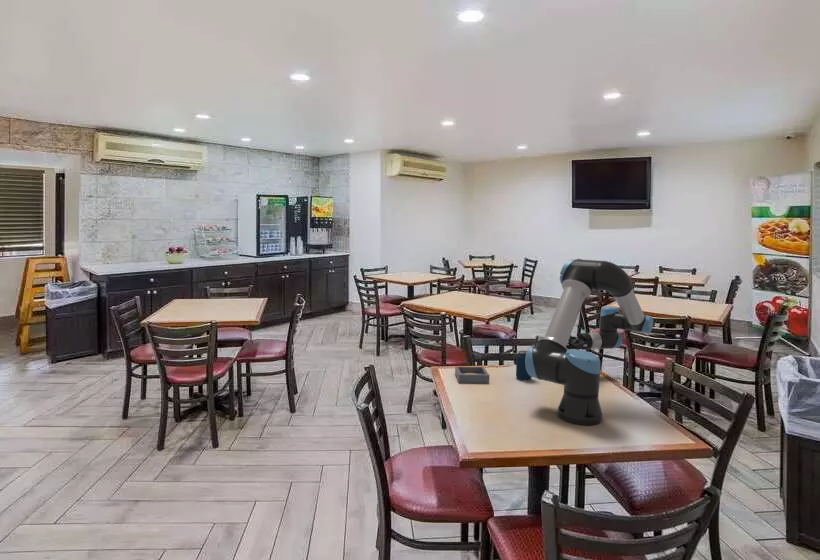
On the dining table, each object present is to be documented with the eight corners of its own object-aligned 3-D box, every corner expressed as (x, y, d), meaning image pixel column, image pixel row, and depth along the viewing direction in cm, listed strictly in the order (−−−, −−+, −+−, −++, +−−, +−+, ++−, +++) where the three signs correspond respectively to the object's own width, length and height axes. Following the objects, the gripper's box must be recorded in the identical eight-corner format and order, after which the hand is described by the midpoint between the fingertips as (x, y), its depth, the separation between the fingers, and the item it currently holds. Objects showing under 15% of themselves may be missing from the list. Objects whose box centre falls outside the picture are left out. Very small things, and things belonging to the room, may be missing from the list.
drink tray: (489, 383, 214) (489, 375, 214) (458, 382, 214) (459, 374, 214) (483, 374, 227) (483, 366, 227) (455, 373, 227) (455, 366, 227)
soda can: (533, 381, 219) (535, 354, 218) (518, 381, 219) (519, 354, 217) (529, 376, 226) (530, 350, 225) (513, 376, 225) (515, 350, 224)
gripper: (604, 356, 216) (560, 358, 211) (573, 342, 240) (532, 344, 236) (605, 339, 215) (560, 341, 211) (574, 327, 239) (533, 328, 235)
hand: (545, 343), depth 223 cm, fingers open, 13 cm apart
